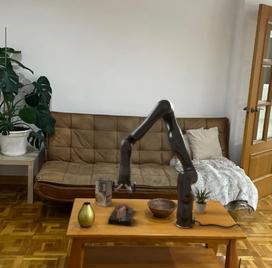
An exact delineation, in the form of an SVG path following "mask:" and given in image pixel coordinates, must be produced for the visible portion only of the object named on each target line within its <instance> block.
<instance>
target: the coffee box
mask: <svg viewBox="0 0 272 268" xmlns="http://www.w3.org/2000/svg"><path fill="white" fill-rule="evenodd" d="M112 184H113V180H112V179H108V178H103V177H100V178H98V179H96V180H95V192H94V193H95V196H94V197H95V198H94V200H95V201H94V202H95V203H94V204H95V205H98V206H102V207H104V208H108V207H109V206H111V205H112V204H113V203H112V200H113V199H112V198H113V191H112Z"/></svg>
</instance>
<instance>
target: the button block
mask: <svg viewBox="0 0 272 268" xmlns="http://www.w3.org/2000/svg"><path fill="white" fill-rule="evenodd" d="M120 208H121V204H119V205H116V206H115V207H114V209H113V211H112V213H117V210H119V209H120ZM133 212H134V207H130V206H129V205H127V206H126V214H132V215H133Z"/></svg>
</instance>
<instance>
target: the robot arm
mask: <svg viewBox="0 0 272 268" xmlns="http://www.w3.org/2000/svg"><path fill="white" fill-rule="evenodd" d="M160 119H162V122H163V125H164V128H165V135H166V139H167V143H168V146H169V149H170V151H171V153H172V154H173V155H174V156H175V157H176V159H177V160H178V161H179V163H180V165H181V167H182V170H180V171H179V172H178V174H177V178H176V179H177V180H176V192H177V201H176V213H175V219H174V220H175V224H174V225H175V227H178V228H180V229H192V225H196V223H198V225H199V226H201V227H209V226H215V227H220V228H224V229H231V228H233V227H235V226H237V227H239V228H241V225H240V224H238V223H235V224H232V225H230V226H229V225H228V226H225V225H221V224H216V223H208V224H207V223H206V224H202V223H201V221H199V220H196V216H194V202H195V201H194V200H195V197H194V196H195V191H193V190H192V186H193V185H195V184H197V183H198V181H199V173H198V171H197V169H196V166H195V164H194V163H193V160H192V158H191V155H190V153H189V150H188V147H187V144H186V142H185V138H184V136H183V132H182V131H181V127H180V126H179V124H178V122H177V118H176V114H175V108H174V105H173V104H172V103H171V101H170V100H168V99H161V100H159V101H158V102H157V104H156V105H155V106H154V107H153V109H152V110H151V111H150V112H149V114H148V115H147V116H146V117H145V118H144V119H143V120H142V121H141V122H140V123H139V124H138V125H137V126H136V127H135V128H134V129H133V130H132V131H131V132H129V134H128V135H127V136H125V137H124V138H123V139H122V140H121V141H120V145H119V163H118V164H119V165H118V174H117V175H118V176H117V180H115V179H113V180H112V192H114V197H115V199H117V198H118V193H119V192H118V191H119V190H120V189H121V190H123V189H124V190H127V191H128V192H129V200H132V199H133V194H134V193H136V191H137V182H136V181H133V182H132V154H133V147H134V146H135V144H136V143H137V142H140V141H141V140H142V139H143V138H144V137H145V136H147V134H148V133H149V132H150V131H151V130H152V128H153V127H154V125H156V123H157V122H158V121H159V120H160ZM116 185H118V186H116ZM241 262H242V258H239V262H238V268H241Z"/></svg>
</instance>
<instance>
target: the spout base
mask: <svg viewBox="0 0 272 268" xmlns="http://www.w3.org/2000/svg"><path fill="white" fill-rule="evenodd" d="M134 215H135V214H133V213H132V214H126V215H125V216H124V217H122V218H121V219H120V220H119V219H117V213H113V212H111V213H110V215H109V217H108V220H107V221H108V222H107V224H108V225H111V226H112V225H113V226H123V227H132V225H133V222H134Z"/></svg>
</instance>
